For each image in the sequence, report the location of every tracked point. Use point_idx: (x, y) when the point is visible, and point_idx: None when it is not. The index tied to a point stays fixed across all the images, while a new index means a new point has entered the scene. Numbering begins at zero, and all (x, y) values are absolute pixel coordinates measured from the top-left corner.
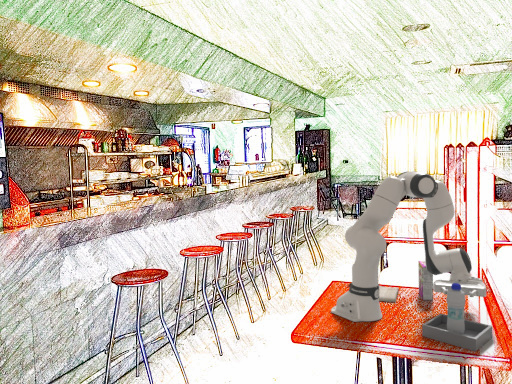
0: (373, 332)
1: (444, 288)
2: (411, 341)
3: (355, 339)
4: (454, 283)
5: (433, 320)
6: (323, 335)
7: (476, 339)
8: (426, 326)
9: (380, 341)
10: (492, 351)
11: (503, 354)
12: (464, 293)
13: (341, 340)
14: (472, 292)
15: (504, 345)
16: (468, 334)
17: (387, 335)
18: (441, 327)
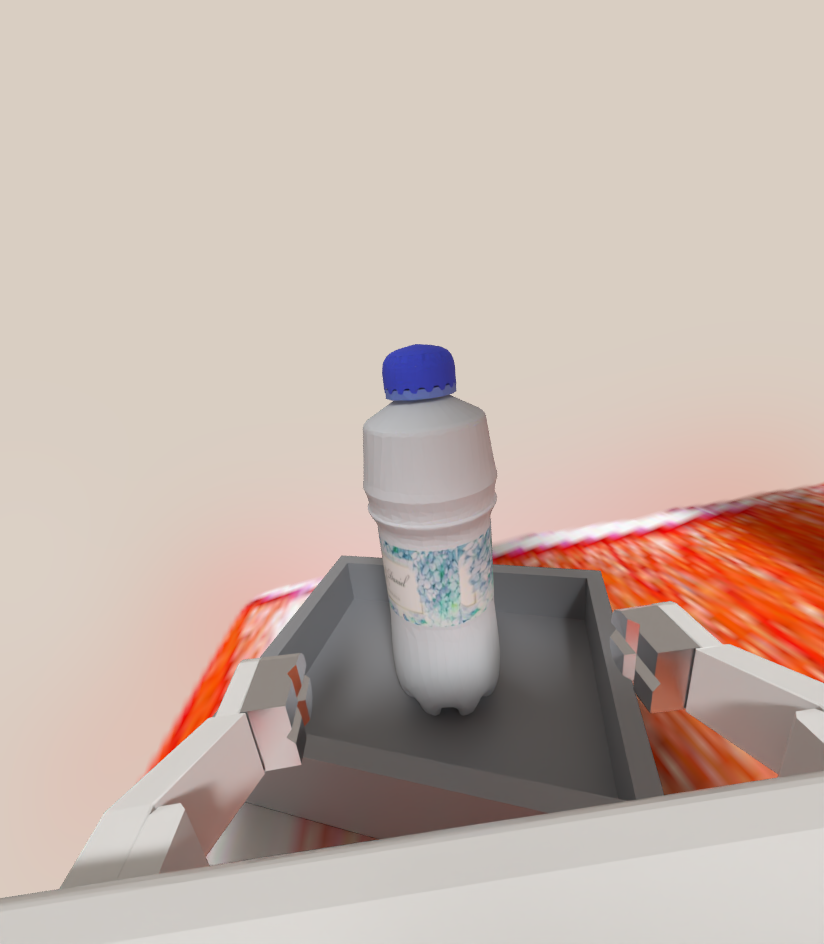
0: (787, 566)
1: (750, 667)
2: (594, 569)
3: (749, 513)
4: (428, 345)
5: (602, 650)
6: None
7: (339, 559)
8: (574, 571)
9: (676, 531)
10: (284, 626)
11: (247, 622)
12: (363, 428)
13: (767, 497)
14: (247, 679)
15: (198, 706)
16: (377, 710)
17: (714, 569)
18: (568, 742)
